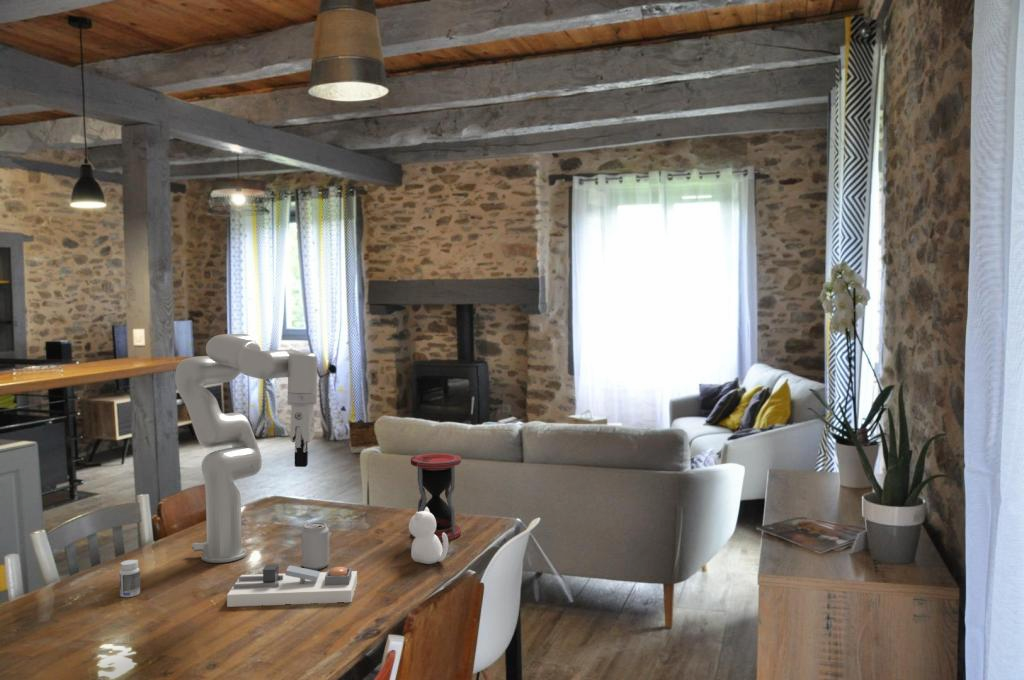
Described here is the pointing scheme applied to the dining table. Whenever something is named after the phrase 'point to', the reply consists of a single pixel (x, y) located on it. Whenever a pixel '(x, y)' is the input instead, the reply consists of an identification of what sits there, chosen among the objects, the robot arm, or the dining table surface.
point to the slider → (271, 573)
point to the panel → (292, 590)
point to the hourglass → (438, 490)
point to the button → (338, 571)
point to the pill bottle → (129, 578)
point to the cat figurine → (426, 539)
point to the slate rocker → (302, 573)
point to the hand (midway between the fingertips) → (301, 466)
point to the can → (315, 545)
